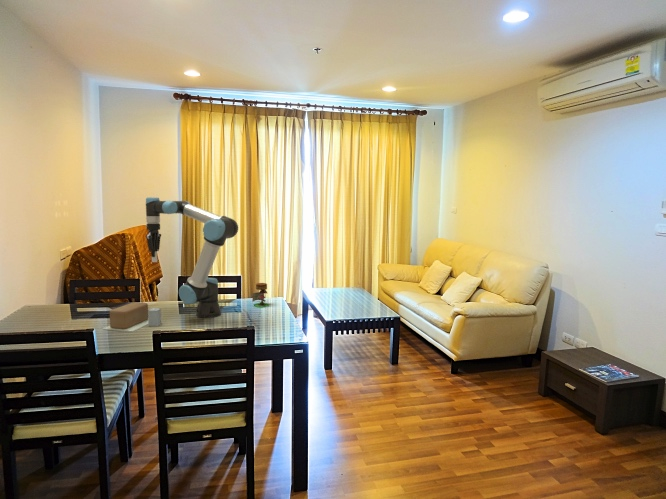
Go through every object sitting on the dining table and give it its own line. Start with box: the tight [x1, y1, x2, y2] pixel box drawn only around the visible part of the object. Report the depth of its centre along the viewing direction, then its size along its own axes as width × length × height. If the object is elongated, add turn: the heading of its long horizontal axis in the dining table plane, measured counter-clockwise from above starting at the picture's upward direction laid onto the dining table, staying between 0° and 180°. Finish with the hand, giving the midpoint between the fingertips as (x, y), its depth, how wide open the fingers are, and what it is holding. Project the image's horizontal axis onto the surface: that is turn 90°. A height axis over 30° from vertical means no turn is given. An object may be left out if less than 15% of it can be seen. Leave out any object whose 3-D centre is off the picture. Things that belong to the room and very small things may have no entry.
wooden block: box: [109, 301, 149, 329], centre depth 235 cm, size 10×10×20 cm
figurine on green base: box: [252, 282, 270, 308], centre depth 284 cm, size 12×13×15 cm
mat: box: [102, 319, 149, 333], centre depth 234 cm, size 18×20×1 cm
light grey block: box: [148, 307, 162, 327], centre depth 236 cm, size 5×5×9 cm
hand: (154, 262), depth 254 cm, fingers closed
